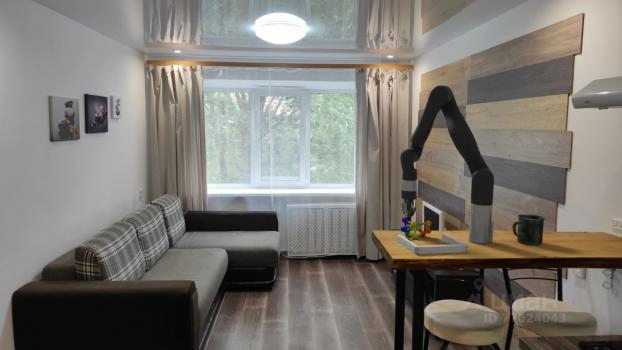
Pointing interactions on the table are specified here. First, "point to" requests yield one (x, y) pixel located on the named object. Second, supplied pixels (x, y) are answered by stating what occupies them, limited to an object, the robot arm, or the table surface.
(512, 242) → the table surface
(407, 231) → the decorative model
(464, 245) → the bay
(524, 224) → the mug
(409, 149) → the robot arm
